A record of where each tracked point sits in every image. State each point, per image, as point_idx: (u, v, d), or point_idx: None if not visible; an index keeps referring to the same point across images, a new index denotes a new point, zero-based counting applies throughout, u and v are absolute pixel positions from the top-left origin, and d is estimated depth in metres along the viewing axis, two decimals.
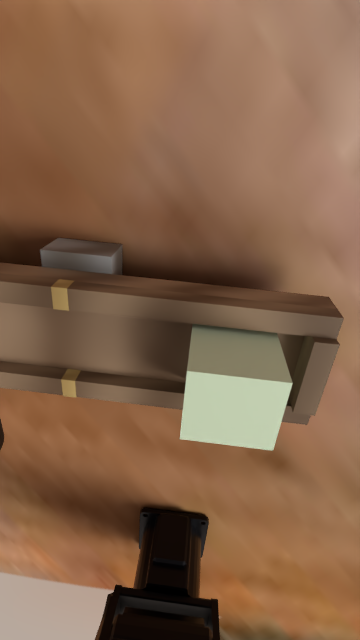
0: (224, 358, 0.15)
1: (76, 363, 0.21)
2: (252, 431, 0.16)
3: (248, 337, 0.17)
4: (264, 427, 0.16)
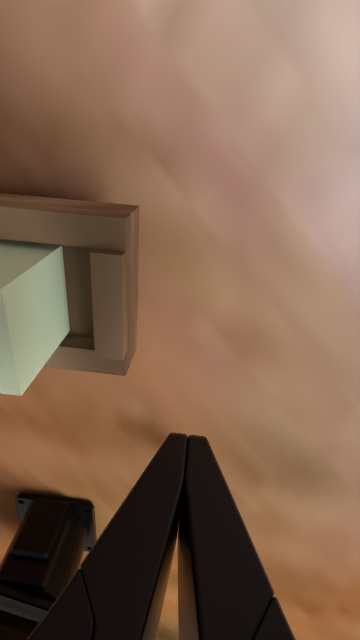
0: None
1: None
2: None
3: (10, 249, 0.13)
4: None
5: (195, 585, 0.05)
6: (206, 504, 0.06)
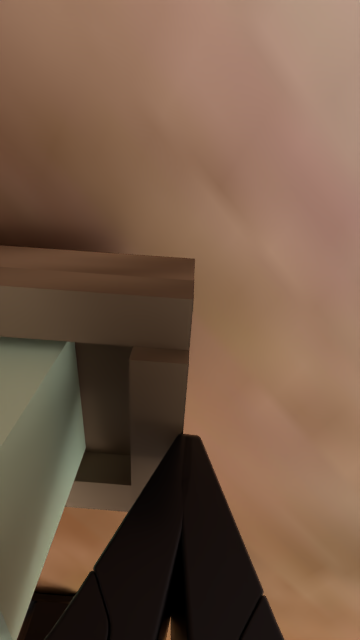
0: None
1: None
2: None
3: None
4: None
5: (184, 583, 0.05)
6: (198, 503, 0.06)
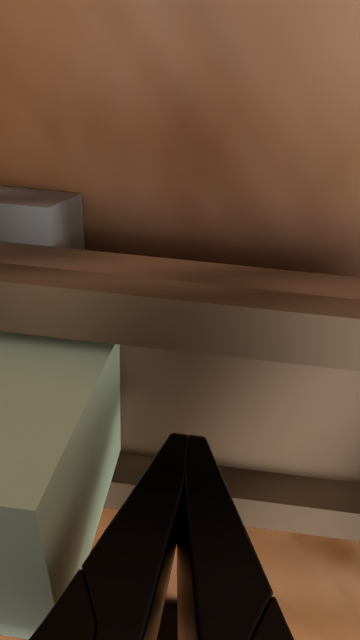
0: None
1: None
2: None
3: (36, 353, 0.07)
4: (16, 603, 0.06)
5: (194, 585, 0.05)
6: (205, 504, 0.06)
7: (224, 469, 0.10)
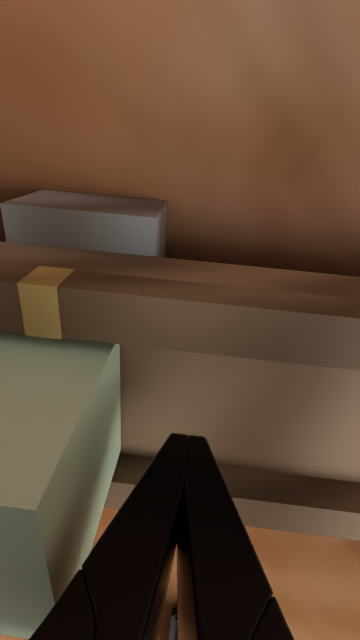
0: None
1: None
2: None
3: (36, 353, 0.07)
4: (16, 602, 0.06)
5: (194, 585, 0.05)
6: (205, 504, 0.06)
7: (317, 480, 0.10)
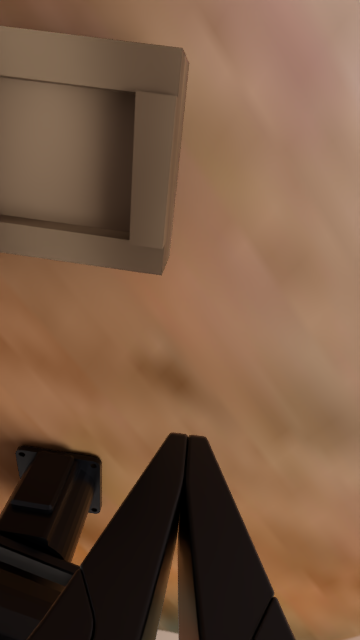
0: None
1: None
2: None
3: None
4: None
5: (195, 585, 0.05)
6: (206, 504, 0.06)
7: (0, 215, 0.14)
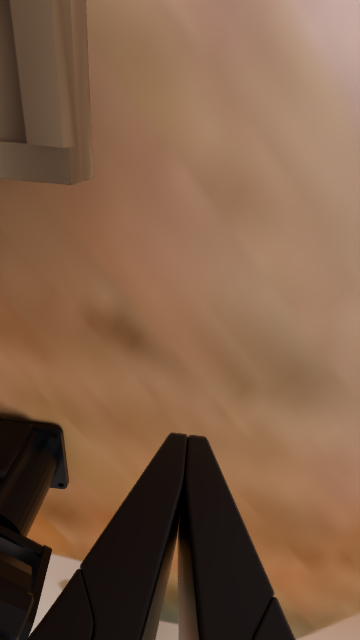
0: None
1: None
2: None
3: None
4: None
5: (195, 585, 0.05)
6: (206, 504, 0.06)
7: None
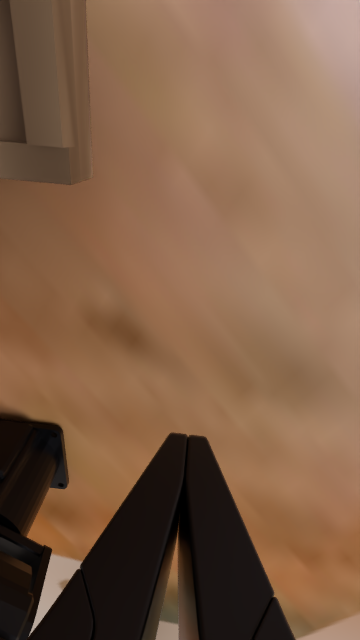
0: None
1: None
2: None
3: None
4: None
5: (195, 585, 0.05)
6: (206, 504, 0.06)
7: None
